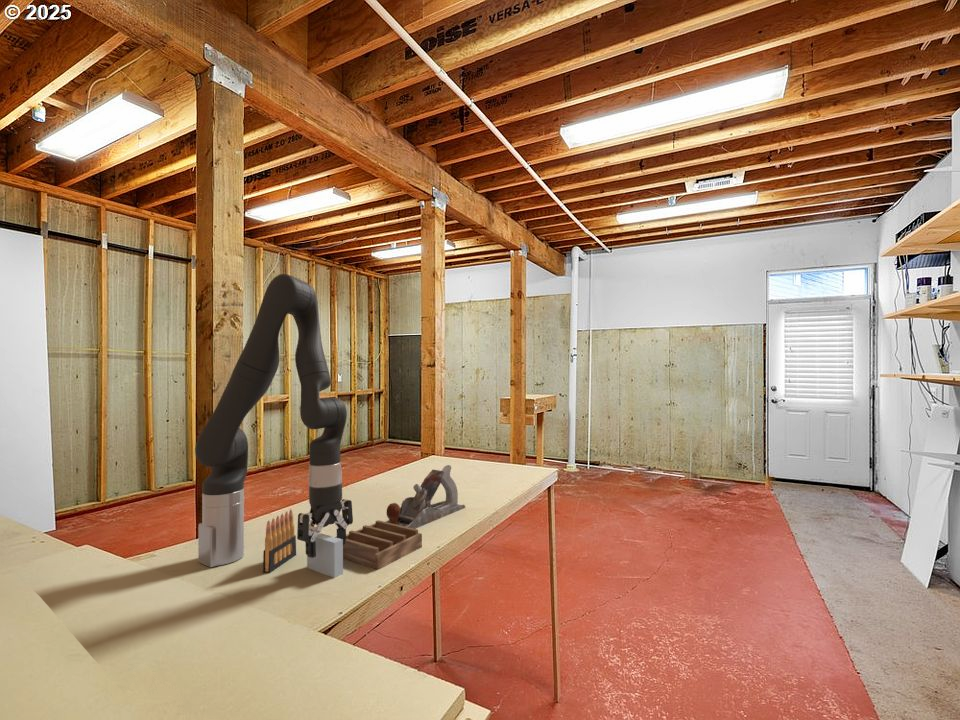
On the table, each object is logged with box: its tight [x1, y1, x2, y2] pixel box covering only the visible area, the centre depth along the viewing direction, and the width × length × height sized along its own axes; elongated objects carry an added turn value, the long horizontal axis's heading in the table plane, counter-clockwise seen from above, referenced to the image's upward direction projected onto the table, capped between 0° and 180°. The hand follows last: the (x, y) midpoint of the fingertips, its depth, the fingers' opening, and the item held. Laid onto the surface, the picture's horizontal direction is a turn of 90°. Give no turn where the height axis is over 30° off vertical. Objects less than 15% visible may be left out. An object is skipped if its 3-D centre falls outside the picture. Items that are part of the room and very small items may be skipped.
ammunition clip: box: [262, 508, 297, 574], centre depth 112 cm, size 11×2×12 cm, turn 169°
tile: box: [306, 532, 344, 579], centre depth 107 cm, size 2×10×8 cm, turn 57°
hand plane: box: [385, 464, 466, 529], centre depth 145 cm, size 9×33×15 cm, turn 144°
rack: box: [335, 519, 423, 570], centre depth 119 cm, size 16×17×4 cm
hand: (326, 550), depth 108 cm, fingers open, 8 cm apart
